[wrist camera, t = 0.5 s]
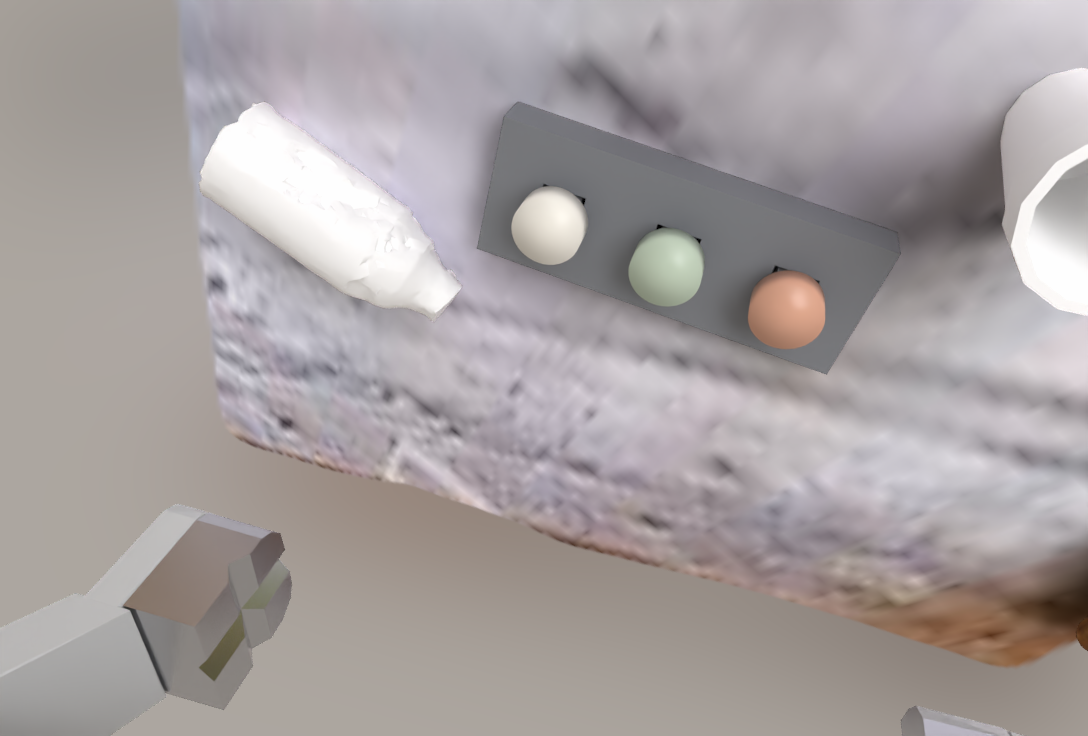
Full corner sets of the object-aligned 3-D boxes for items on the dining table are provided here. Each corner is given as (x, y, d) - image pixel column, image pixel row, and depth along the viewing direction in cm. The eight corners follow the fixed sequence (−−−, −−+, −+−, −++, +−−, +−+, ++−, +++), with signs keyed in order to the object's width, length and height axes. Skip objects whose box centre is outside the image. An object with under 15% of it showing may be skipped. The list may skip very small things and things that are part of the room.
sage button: (653, 200, 52) (641, 231, 48) (720, 223, 51) (712, 257, 48) (632, 258, 55) (619, 291, 51) (695, 280, 54) (686, 316, 51)
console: (518, 101, 52) (504, 116, 50) (897, 232, 50) (900, 254, 48) (490, 229, 58) (477, 248, 56) (826, 350, 56) (826, 374, 54)
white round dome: (540, 160, 52) (519, 189, 49) (605, 183, 52) (589, 213, 48) (525, 220, 55) (505, 250, 52) (587, 241, 55) (570, 274, 51)
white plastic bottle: (444, 309, 64) (405, 366, 58) (247, 166, 61) (183, 209, 55) (493, 244, 59) (455, 299, 53) (280, 85, 56) (214, 123, 50)
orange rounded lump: (769, 240, 51) (765, 275, 48) (837, 264, 51) (838, 301, 47) (742, 297, 54) (736, 334, 50) (806, 320, 54) (805, 358, 50)
